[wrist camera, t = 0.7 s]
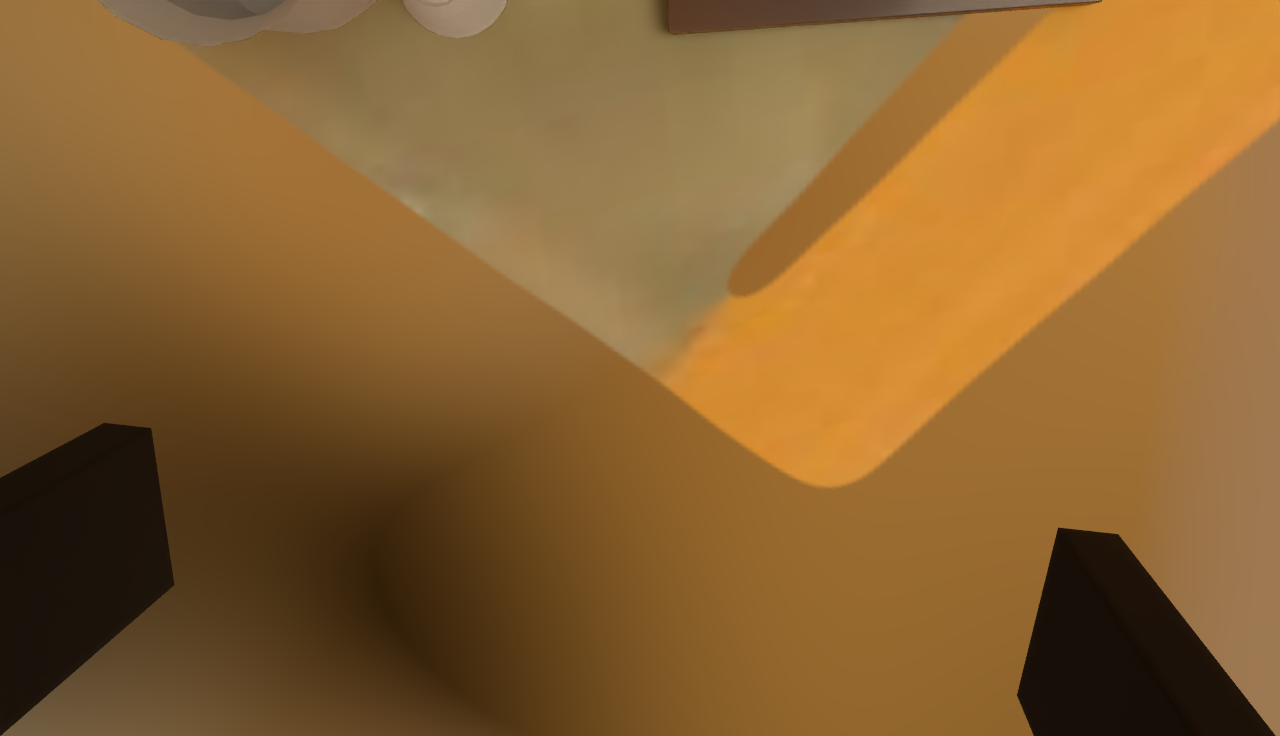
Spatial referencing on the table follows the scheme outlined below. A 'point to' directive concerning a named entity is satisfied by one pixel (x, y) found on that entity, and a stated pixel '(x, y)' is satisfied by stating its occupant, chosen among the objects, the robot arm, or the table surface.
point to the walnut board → (826, 11)
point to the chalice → (288, 17)
